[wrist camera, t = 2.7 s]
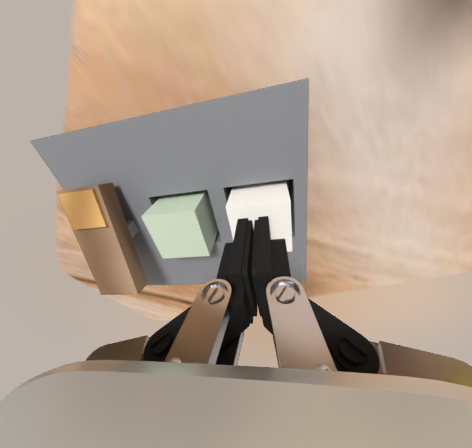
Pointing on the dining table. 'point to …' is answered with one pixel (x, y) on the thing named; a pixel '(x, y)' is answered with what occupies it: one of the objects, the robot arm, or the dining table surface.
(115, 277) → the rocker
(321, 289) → the dining table surface
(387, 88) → the dining table surface
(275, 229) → the white button
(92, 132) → the console
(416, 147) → the dining table surface
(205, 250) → the sage button
